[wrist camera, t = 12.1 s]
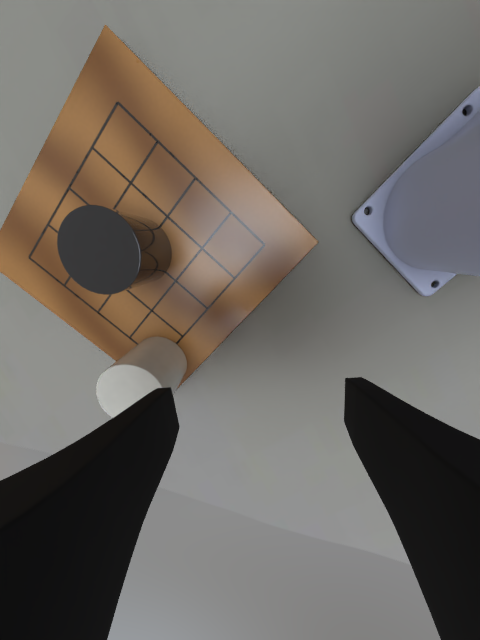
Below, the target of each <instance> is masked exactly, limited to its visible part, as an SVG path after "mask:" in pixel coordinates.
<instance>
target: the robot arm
mask: <svg viewBox="0 0 480 640" xmlns="http://www.w3.org/2000/svg"><path fill="white" fill-rule="evenodd" d="M463 109H465V110H466V112H467V113H466V116H464V115H463V113H462V111H463ZM366 207H367V208H369V210H370V211H369V214H368V215H365V214H364V209H365V208H366ZM352 222H353V223H354V225H355V226H356V227H357V228H358V229H359V230H360V231H361V232H362V233H363V234H364V235H365V236H366V237H367V238H368V239H369V241H370V242H371V243H372V244H373V245H374V246H375V247H376V248H377V249H378V250H379V251H380V252H381V253H382V254H383V256H384V257H385V258H386V259H387V260H388V261H389V262H390V263H391V264H392V265H393V266H394V267H395V268H396V269H397V270H398V272H399V273H400V274H401V275H402V276H403V277H404V278H405V279H406V280H407V281H408V282H409V283H410V284H411V285H412V287H413V288H414V289H415V290H416V291H417V292H418V293H419V294H420V295H423V296H430V295H432V294H433V293H435V292H436V291H437V290H438V289H439V288H441V287H442V286H443V285H444V284H446V283H447V282H448V281H449V280H450V279H452V278H453V277H454V276H455V275H456V274H465V275H473V276H480V86H479V87H477V88H476V89H475V90H473V91H472V92H471V93H470V94H469V95H468V97H467V98H466V99H465V100H464V101H463V102H462V103H461V104H460V105H459V106H458V107H457V108H456V109H455V110H454V111H453V112H452V113H451V114H450V115H449V116H448V117H447V118H446V119H445V120H444V121H443V122H442V123H441V124H440V125H439V126H438V127H437V128H436V129H435V130H434V131H433V132H432V133H431V134H430V136H429V137H428V138H427V139H426V140H425V141H424V142H423V143H422V144H421V145H420V146H419V147H418V148H417V149H416V150H415V151H414V152H413V153H412V154H411V155H410V156H409V157H408V158H407V159H406V160H405V161H404V162H403V163H402V164H401V165H400V166H399V167H398V168H397V169H396V170H395V171H394V172H393V173H392V174H391V176H390V177H389V178H388V179H387V180H386V181H385V182H384V183H383V184H382V185H381V186H380V187H379V188H378V189H377V190H376V191H375V192H374V193H373V194H372V195H371V196H370V197H369V198H368V199H367V200H366V201H365V202H364V203H363V204H362V205H361V206H360V207H359V208H358V209H357V210H356V211H355V213H354V214H353V216H352ZM433 281H435V284H434V286H432V287H431V283H432V282H433ZM344 422H345V425H346V427H347V430H348V433H349V436H350V438H351V441H352V443H353V446H354V448H355V450H356V452H357V454H358V456H359V458H360V460H361V461H362V463H363V465H364V467H365V469H366V471H367V473H368V475H369V477H370V479H371V481H372V482H373V484H374V486H375V488H376V490H377V492H378V494H379V496H380V498H381V500H382V502H383V503H384V505H385V507H386V509H387V511H388V513H389V515H390V517H391V519H392V522H393V524H394V526H395V528H396V530H397V533H398V535H399V537H400V540H401V542H402V544H403V547H404V549H405V552H406V554H407V556H408V559H409V561H410V563H411V566H412V568H413V571H414V573H415V576H416V578H417V580H418V583H419V585H420V588H421V590H422V593H423V595H424V598H425V600H426V603H427V605H428V607H429V610H430V612H431V615H432V618H433V620H434V623H435V625H436V628H437V630H438V633H439V636H440V638H441V640H480V440H479V439H477V438H475V437H473V436H470V435H468V434H466V433H464V432H462V431H459V430H457V429H455V428H453V427H451V426H449V425H447V424H445V423H443V422H441V421H439V420H437V419H435V418H434V417H432V416H430V415H428V414H426V413H424V412H422V411H420V410H418V409H417V408H415V407H413V406H411V405H409V404H408V403H406V402H404V401H402V400H401V399H399V398H397V397H395V396H394V395H392V394H390V393H389V392H387V391H385V390H383V389H382V388H380V387H378V386H377V385H375V384H373V383H371V382H370V381H368V380H366V379H364V378H362V377H358V378H345V410H344ZM178 431H179V423H178V418H177V413H176V408H175V403H174V399H173V394H172V389H171V387H168V388H157V389H155V390H153V391H152V392H150V393H148V394H147V395H145V396H144V397H143V398H141V399H140V400H138V401H137V402H135V403H134V404H133V405H131V406H130V407H128V408H127V409H125V410H124V411H123V412H121V413H120V414H118V415H117V416H115V417H114V418H112V419H111V420H109V421H108V422H106V423H105V424H103V425H102V426H100V427H99V428H97V429H95V430H94V431H92V432H91V433H89V434H88V435H86V436H85V437H83V438H81V439H80V440H78V441H76V442H75V443H73V444H71V445H69V446H68V447H66V448H64V449H62V450H60V451H59V452H57V453H55V454H53V455H51V456H50V457H48V458H46V459H44V460H42V461H40V462H38V463H36V464H34V465H32V466H30V467H28V468H26V469H24V470H22V471H20V472H18V473H16V474H14V475H12V476H10V477H8V478H6V479H3V480H1V481H0V640H107V638H108V634H109V631H110V627H111V624H112V620H113V617H114V613H115V610H116V606H117V603H118V599H119V596H120V593H121V589H122V586H123V583H124V580H125V577H126V573H127V570H128V567H129V563H130V560H131V557H132V554H133V551H134V548H135V545H136V542H137V539H138V536H139V533H140V530H141V527H142V524H143V521H144V519H145V516H146V514H147V511H148V508H149V506H150V504H151V501H152V499H153V497H154V494H155V492H156V490H157V487H158V485H159V483H160V480H161V478H162V476H163V473H164V471H165V469H166V466H167V464H168V461H169V459H170V457H171V454H172V452H173V448H174V445H175V442H176V438H177V434H178Z"/></svg>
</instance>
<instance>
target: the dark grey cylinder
mask: <svg viewBox="0 0 480 640" xmlns="http://www.w3.org/2000/svg"><path fill="white" fill-rule="evenodd" d="M57 248H58V253H59V257H60V260H61V262H62V264H63V266H64V268H65V270H66V271H67V273H68V274H69V275H70V277H71V278H72V279H73V280H74V281H75V282H76V283H78V284H79V285H80V286H82V287H83V288H85V289H87V290H89V291H91V292H94V293H97V294H103V295H110V294H116V293H120V292H123V291H126V290H129V289H132V288H135V287H138V286H142V285H145V284H148V283H151V282H154V281H156V280H158V279H160V278H161V277H162V276H163V275H164V274H165V273H166V272H167V270H168V268H169V266H170V263H171V259H172V249H171V244H170V241H169V239H168V237H167V235H166V233H165V232H164V231H163V229H162V228H161V227H160V226H159V225H158V224H156V223H155V222H153V221H152V220H149V219H147V218H144V217H140V216H136V215H133V214H129V213H126V212H122V211H118V210H115V209H111V208H107V207H104V206H99V205H85V206H81V207H78V208H76V209H74V210H73V211H71V212H70V213H69V214H68V215H67V216H66V217H65V218H64V220H63V221H62V223H61V225H60V228H59V231H58V236H57Z"/></svg>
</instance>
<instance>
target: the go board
mask: <svg viewBox="0 0 480 640" xmlns="http://www.w3.org/2000/svg"><path fill="white" fill-rule="evenodd" d="M85 205H99V206H104V207H107V208H111V209H115V210H118V211H122V212H126V213H129V214H133V215H136V216H140V217H144V218H147V219H149V220H152V221H153V222H155V223H156V224H158V225H159V226H160V227H161V228H162V229H163V231H164V232H165V233H166V235H167V237H168V239H169V241H170V244H171V249H172V259H171V263H170V266H169V268H168V270H167V272H166V273H165V274H164V275H163V276H162V277H161V278H160V279H158V280H156V281H154V282H151V283H148V284H145V285H142V286H138V287H135V288H132V289H129V290H126V291H123V292H120V293H116V294H110V295H103V294H97V293H94V292H91V291H89V290H87V289H85V288H83V287H82V286H80V285H79V284H78V283H76V282H75V281H74V280H73V279H72V278H71V277H70V275H69V274H68V273H67V271H66V270H65V268H64V266H63V264H62V262H61V260H60V257H59V253H58V248H57V236H58V231H59V228H60V225H61V223H62V221H63V220H64V218H65V217H66V216H67V215H68V214H69V213H70V212H71V211H73V210H74V209H76V208H78V207H81V206H85ZM317 243H318V241H317V240H316V239H315V238H314V237H313V236H312V235H311V234H310V233H309V232H308V231H307V229H306V228H305V227H304V226H303V225H302V224H301V223H300V222H299V221H298V220H297V219H296V218H295V217H294V216H293V215H292V214H291V213H290V212H289V211H288V210H287V209H286V208H285V207H284V206H283V205H282V204H281V203H280V202H279V201H278V200H277V199H276V198H275V197H274V196H273V195H272V194H271V193H270V192H269V191H268V190H267V189H266V188H265V187H264V186H263V185H262V184H261V183H260V182H259V181H258V180H257V179H256V178H255V176H254V175H253V174H252V173H251V172H250V171H249V170H248V169H247V168H246V167H245V166H244V165H243V164H242V163H241V162H240V161H239V160H238V159H237V158H236V157H235V156H234V155H233V154H232V153H231V152H230V151H229V150H228V149H227V148H226V147H225V146H224V145H223V144H222V143H221V142H220V141H219V140H218V139H217V138H216V137H215V136H214V135H213V134H212V133H211V132H210V131H209V130H208V129H207V128H206V127H205V126H204V125H203V124H202V122H201V121H200V120H199V119H198V118H197V117H196V116H195V115H194V114H193V113H192V112H191V111H190V110H189V109H188V108H187V107H186V106H185V105H184V104H183V103H182V102H181V101H180V100H179V99H178V98H177V97H176V96H175V95H174V94H173V93H172V92H171V91H170V90H169V89H168V88H167V87H166V86H165V85H164V84H163V83H162V82H161V81H160V80H159V79H158V78H157V77H156V76H155V75H154V74H153V73H152V72H151V71H150V69H149V68H148V67H147V66H146V65H145V64H144V63H143V62H142V61H141V60H140V59H139V58H138V57H137V56H136V55H135V54H134V53H133V52H132V51H131V50H130V49H129V48H128V47H127V46H126V45H125V44H124V43H123V42H122V41H121V40H120V39H119V38H118V37H117V36H116V35H115V34H114V33H113V32H112V31H111V30H110V29H109V28H108V27H107V26H106V25H105V26H104V28H103V30H102V32H101V34H100V36H99V38H98V40H97V42H96V44H95V46H94V48H93V49H92V51H91V53H90V55H89V57H88V59H87V61H86V63H85V65H84V67H83V69H82V71H81V73H80V75H79V77H78V79H77V81H76V83H75V85H74V87H73V89H72V91H71V93H70V95H69V97H68V98H67V100H66V102H65V104H64V106H63V108H62V110H61V112H60V114H59V116H58V118H57V120H56V122H55V124H54V126H53V128H52V130H51V132H50V134H49V136H48V138H47V140H46V142H45V144H44V146H43V148H42V149H41V151H40V153H39V155H38V157H37V159H36V161H35V163H34V165H33V167H32V169H31V171H30V173H29V175H28V177H27V179H26V181H25V183H24V185H23V187H22V189H21V191H20V193H19V195H18V197H17V198H16V200H15V202H14V204H13V206H12V208H11V210H10V212H9V214H8V216H7V218H6V220H5V222H4V224H3V226H2V228H1V230H0V272H1V273H3V274H4V275H5V276H7V277H8V278H9V279H10V280H12V281H13V282H14V283H16V284H17V285H18V286H19V287H21V288H22V289H23V290H25V291H26V292H27V293H29V294H30V295H31V296H32V297H34V298H35V299H36V300H38V301H39V302H40V303H42V304H43V305H44V306H45V307H47V308H48V309H49V310H51V311H52V312H53V313H55V314H56V315H57V316H58V317H60V318H61V319H62V320H64V321H65V322H66V323H67V324H69V325H70V326H71V327H73V328H74V329H75V330H77V331H78V332H79V333H80V334H82V335H83V336H84V337H86V338H87V339H88V340H90V341H91V342H92V343H93V344H95V345H96V346H97V347H99V348H100V349H101V350H103V351H104V352H105V353H106V354H108V355H109V356H110V357H112V358H113V359H114V360H115V361H117V360H119V359H120V358H121V357H122V356H124V355H125V354H126V353H127V352H129V351H130V350H131V349H132V348H134V347H135V346H136V345H137V344H138V343H140V342H141V341H142V340H144V339H146V338H149V337H164V338H167V339H169V340H171V341H173V342H174V343H176V344H177V345H178V346H179V347H180V348H181V349H182V351H183V352H184V354H185V357H186V360H187V370H186V373H185V375H184V377H183V379H182V380H181V382H180V384H179V386H180V385H181V384H182V383H183V382H184V381H185V380H186V379H187V378H188V377H189V376H190V375H191V374H192V373H193V372H194V371H195V370H196V369H197V368H198V367H199V366H200V365H201V364H202V362H203V361H204V360H205V359H206V358H207V357H208V356H209V355H210V354H211V353H212V352H213V351H214V350H215V349H216V348H217V347H218V346H219V345H220V344H221V343H222V342H223V341H224V340H225V339H226V338H227V337H228V336H229V334H230V333H231V332H232V331H233V330H234V329H235V328H236V327H237V326H238V325H239V324H240V323H241V322H242V321H243V320H244V319H245V318H246V317H247V316H248V315H249V314H250V313H251V312H252V311H253V310H254V309H255V308H256V307H257V305H258V304H259V303H260V302H261V301H262V300H263V299H264V298H265V297H266V296H267V295H268V294H269V293H270V292H271V291H272V290H273V289H274V288H275V287H276V286H277V285H278V284H279V283H280V282H281V281H282V280H283V279H284V277H285V276H286V275H287V274H288V273H289V272H290V271H291V270H292V269H293V268H294V267H295V266H296V265H297V264H298V263H299V262H300V261H301V260H302V259H303V258H304V257H305V256H306V255H307V254H308V253H309V252H310V251H311V249H312V248H313V247H314V246H315V245H316V244H317ZM179 386H178V387H179ZM178 387H177V388H178Z"/></svg>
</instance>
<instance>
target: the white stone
mask: <svg viewBox="0 0 480 640" xmlns="http://www.w3.org/2000/svg"><path fill="white" fill-rule="evenodd" d="M186 370H187V360H186V357H185V354H184V352H183V351H182V349H181V348H180V347H179V346H178V345H177V344H176V343H174V342H173V341H171V340H169V339H167V338H164V337H149V338H146V339H144V340H142V341H141V342H140V343H138V344H137V345H136V346H135V347H134V348H132V349H131V350H130V351H129V352H127V353H126V354H125V355H124V356H122V357H121V358H120V359H119V360H117V361H116V362H115V363H114V364H113V365H111V366H110V367H109V368H108V369H106V370H105V371H104V372H103V373H102V374H101V376H100V377H99V379H98V381H97V385H96V395H97V399H98V401H99V403H100V405H101V407H102V408H103V410H104V411H105V412H106V413H107V414H108V415H109V416H110V417H112V418H114V417H115V416H117V415H118V414H120V413H121V412H123V411H124V410H125V409H127V408H128V407H130V406H131V405H133V404H134V403H135V402H137V401H138V400H140V399H141V398H143V397H144V396H145V395H147V394H148V393H150V392H152V391H153V390H155V389H157V388H168V387H171V389H172V394H173V395H174V393H175V391H176V389H177V387H178V386H179V384H180V382H181V380H182V379H183V377H184V375H185V373H186Z"/></svg>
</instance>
